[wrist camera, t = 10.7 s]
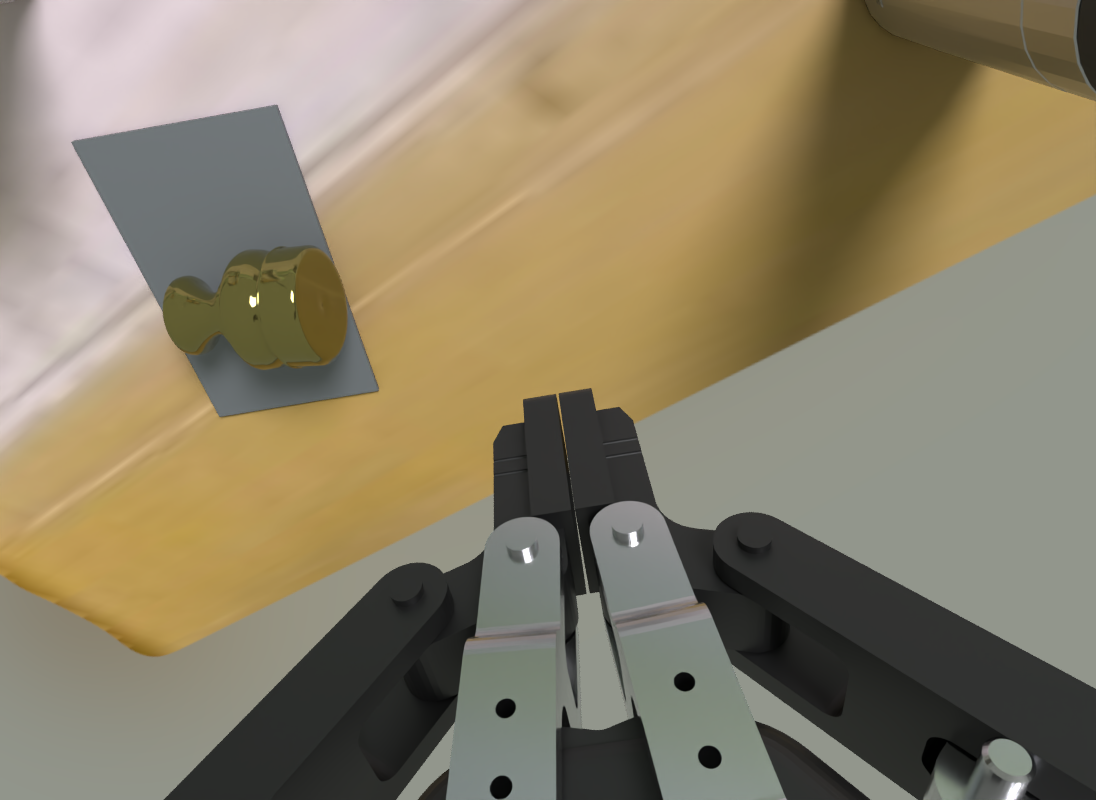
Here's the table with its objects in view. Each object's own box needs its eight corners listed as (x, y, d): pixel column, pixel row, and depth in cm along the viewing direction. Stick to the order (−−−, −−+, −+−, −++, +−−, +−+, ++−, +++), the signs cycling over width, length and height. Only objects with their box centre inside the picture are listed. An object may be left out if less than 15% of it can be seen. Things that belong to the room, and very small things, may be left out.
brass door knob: (359, 300, 47) (225, 310, 49) (310, 216, 41) (159, 231, 43) (336, 390, 43) (190, 398, 45) (278, 312, 37) (112, 325, 39)
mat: (277, 104, 40) (275, 105, 39) (379, 388, 51) (378, 390, 51) (73, 140, 40) (71, 142, 40) (220, 414, 52) (219, 416, 51)
